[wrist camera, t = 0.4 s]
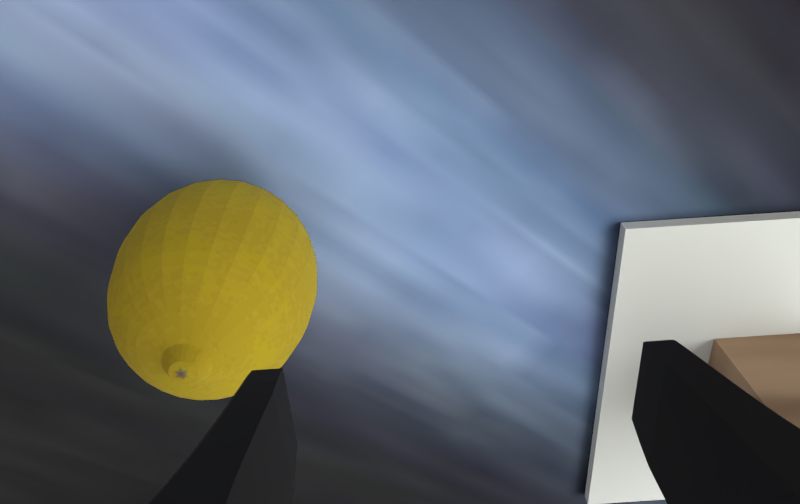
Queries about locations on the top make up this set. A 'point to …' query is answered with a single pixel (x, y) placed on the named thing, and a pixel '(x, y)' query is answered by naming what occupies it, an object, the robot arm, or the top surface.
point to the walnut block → (763, 369)
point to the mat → (684, 318)
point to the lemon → (211, 288)
